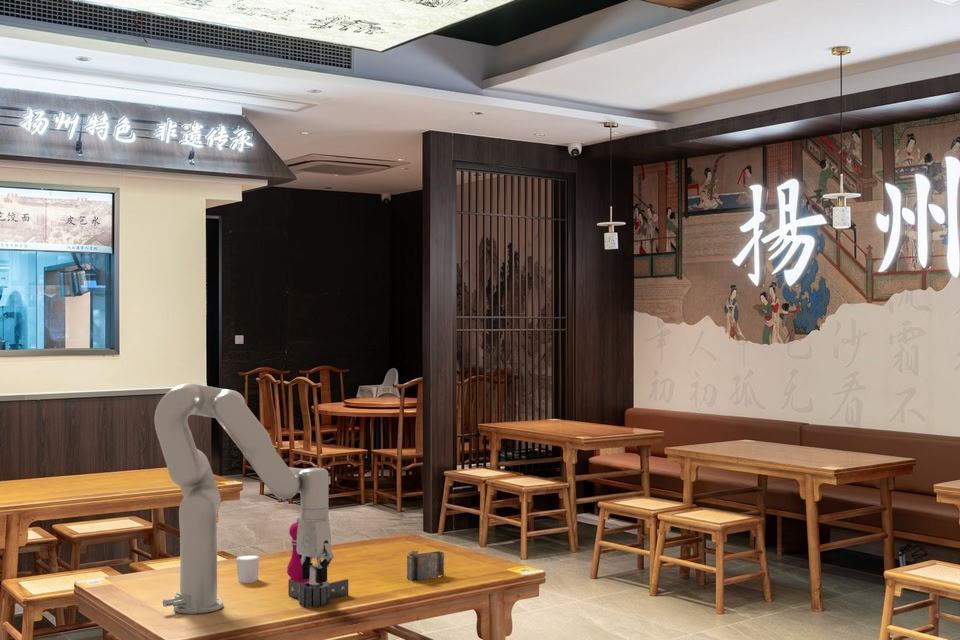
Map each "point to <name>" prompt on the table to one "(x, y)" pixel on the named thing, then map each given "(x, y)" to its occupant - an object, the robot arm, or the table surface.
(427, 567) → the rusty metal bracket
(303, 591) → the hinge
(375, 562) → the table surface
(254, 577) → the white cup
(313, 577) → the hinge pin
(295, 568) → the pepper mill
